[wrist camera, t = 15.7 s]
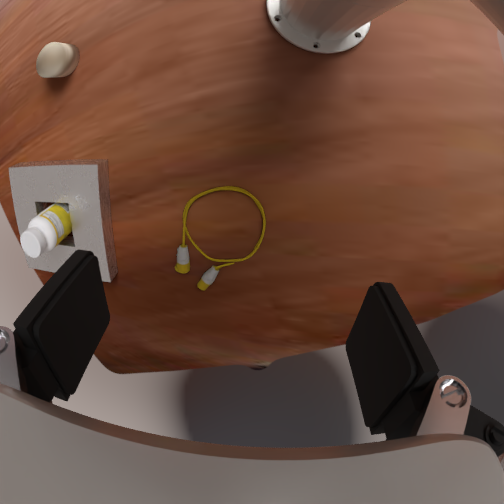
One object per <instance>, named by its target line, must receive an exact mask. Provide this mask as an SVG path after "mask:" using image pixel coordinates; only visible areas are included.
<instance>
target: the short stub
mask: <svg viewBox="0 0 504 504" xmlns="http://www.w3.org/2000/svg"><path fill="white" fill-rule="evenodd" d="M79 56H80V55H79V50H78V48H77V47H76V46H75V45H71V44H65V43H58V42H52V43H49V44H47V45H46V46H45V47H44V48H43V49H42V50H41V52H40V54H39V56H38V58H37V63H36V68H37V72H38V74H39V75H40V76H41V77H45V78H47V77H66V76H68V75H70V74H71V73H72V72H73V71H74V70H75V68H76V67H77V65H78V62H79Z"/></svg>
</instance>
